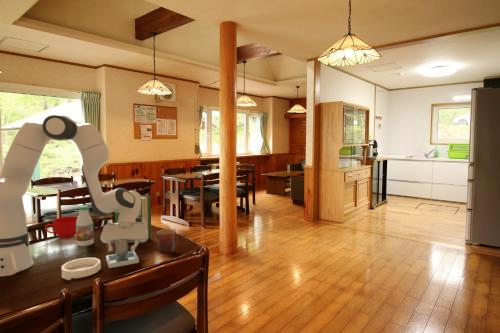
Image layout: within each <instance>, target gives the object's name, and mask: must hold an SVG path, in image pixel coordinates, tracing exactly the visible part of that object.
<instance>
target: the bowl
mask: <svg viewBox="0 0 500 333" xmlns="http://www.w3.org/2000/svg"><path fill="white" fill-rule="evenodd" d="M101 269H102V263H101V260H100V258H97V257H82V258H81V257H80V258H75V259H73V260H70V261H67V262H65V263H64V264H62V265H61V279H64V280H67V281H71V280H72V279H79V278H80V279H81V278H85V277H89V276H92V275H94V274H97V273H98V272H99V271H100V270H101Z"/></svg>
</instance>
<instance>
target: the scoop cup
mask: <svg viewBox="0 0 500 333" xmlns="http://www.w3.org/2000/svg"><path fill="white" fill-rule="evenodd" d="M114 245H115V246H114V248H115V254H116V262H120V261H125V260H129V255H128V252H129V242H128V240H117V241H115V243H114Z"/></svg>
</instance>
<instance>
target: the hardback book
mask: <svg viewBox="0 0 500 333" xmlns="http://www.w3.org/2000/svg"><path fill="white" fill-rule="evenodd" d="M140 196H141V207H140V212H139V214H138V217H140V218H143V219H145V220H146V223H147V230H148V239H151V240H152V232H151V231H152V226H151V223H152V222H151V196H150V195H143V194H142V195H141V194H140ZM119 214H120V212H119V211H118V210H117V211H114V223H117V222H118V218H119ZM143 243H144V242H139V244H143Z"/></svg>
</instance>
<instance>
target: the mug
mask: <svg viewBox="0 0 500 333" xmlns="http://www.w3.org/2000/svg"><path fill="white" fill-rule="evenodd" d="M156 236H157V237H156V238H157V240H158V252H159V253H160V254H168V255H170V254H173V253H174V251H175V236H176V230H175V229H172V228H164V229H160V230H157V231H156Z"/></svg>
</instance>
